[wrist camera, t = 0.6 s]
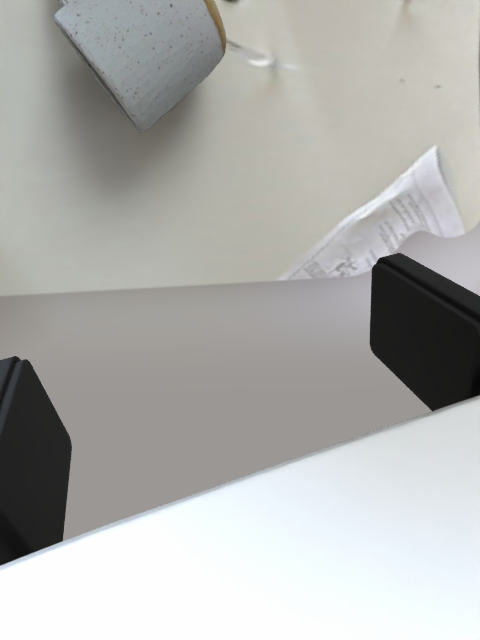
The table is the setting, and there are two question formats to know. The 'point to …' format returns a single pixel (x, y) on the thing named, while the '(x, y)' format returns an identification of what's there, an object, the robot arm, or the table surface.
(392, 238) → the table surface
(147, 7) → the ceramic mug
